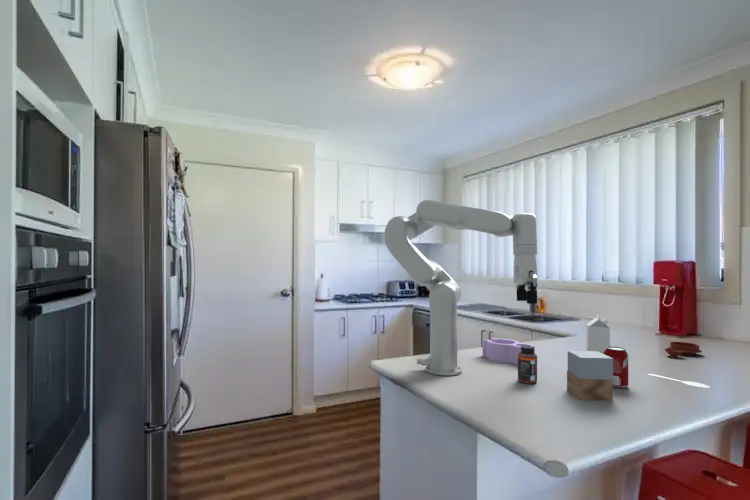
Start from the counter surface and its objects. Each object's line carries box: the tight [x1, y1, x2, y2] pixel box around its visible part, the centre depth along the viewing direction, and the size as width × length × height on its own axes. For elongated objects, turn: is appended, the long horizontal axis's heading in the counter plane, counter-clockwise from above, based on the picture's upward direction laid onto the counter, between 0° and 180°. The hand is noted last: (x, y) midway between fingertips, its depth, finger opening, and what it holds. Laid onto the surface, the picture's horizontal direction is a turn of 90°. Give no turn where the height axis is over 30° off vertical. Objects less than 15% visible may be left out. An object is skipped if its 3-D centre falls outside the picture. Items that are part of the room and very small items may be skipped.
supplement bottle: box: [517, 346, 538, 384], centre depth 133 cm, size 6×6×11 cm
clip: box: [482, 337, 536, 366], centre depth 163 cm, size 20×12×7 cm, turn 39°
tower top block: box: [567, 350, 613, 380], centre depth 121 cm, size 9×9×6 cm
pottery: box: [664, 341, 702, 359], centre depth 175 cm, size 12×20×4 cm, turn 124°
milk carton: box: [586, 314, 611, 354], centre depth 156 cm, size 7×7×19 cm
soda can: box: [604, 345, 629, 389], centre depth 130 cm, size 7×7×12 cm
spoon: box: [647, 373, 711, 389], centre depth 136 cm, size 5×18×1 cm, turn 31°
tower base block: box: [566, 369, 614, 402], centre depth 120 cm, size 9×9×6 cm
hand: (526, 302), depth 136 cm, fingers open, 9 cm apart
